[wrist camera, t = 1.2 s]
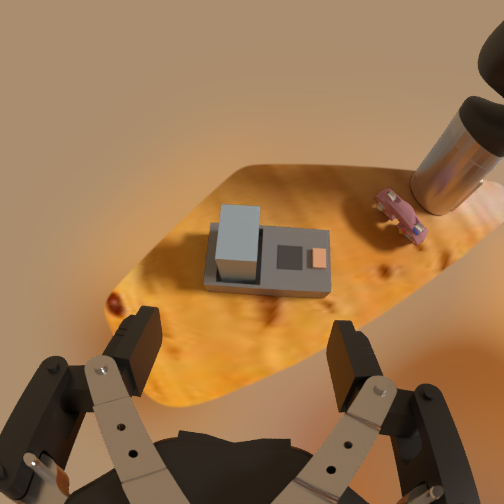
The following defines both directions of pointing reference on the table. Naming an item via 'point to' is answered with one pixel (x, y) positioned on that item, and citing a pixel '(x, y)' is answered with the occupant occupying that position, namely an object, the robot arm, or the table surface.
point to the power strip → (279, 264)
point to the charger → (238, 243)
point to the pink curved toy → (401, 215)
